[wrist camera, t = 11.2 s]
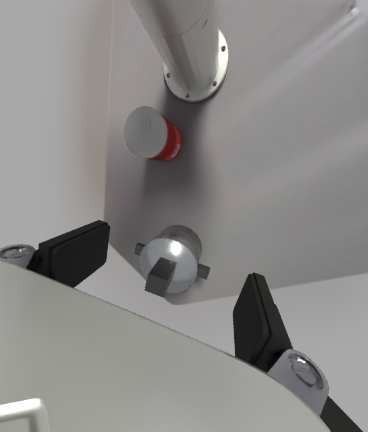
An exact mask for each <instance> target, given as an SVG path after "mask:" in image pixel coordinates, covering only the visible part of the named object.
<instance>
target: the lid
mask: <svg viewBox="0 0 368 432" xmlns="http://www.w3.org/2000/svg"><path fill="white" fill-rule="evenodd" d="M139 266H140V270H141V273H142V275H143V277H144V278H145V279H146V281H147V282H146V287H145V291H148V292H151V293H153V294H156V295H158V296H161V297H163V298H164V296H165V293H180V292H183V291H185V290H187V289H188V288H189V287H191V286H192V284H193V283H194V281H195V279H196V276H197V272H198V264H197V260H196V257H195V255H194V253H193V252H192V250H191V249H190V248H189V247H188V246H187V245H186V244H185V243H183V242H182V241H180V240H177V239H175V238H171V237H159V238H156V239H153V240H152V241H150V242H149V243H148V244H147V245H146V246H145V247H144V248H143V249H142V251H141V253H140V257H139Z"/></svg>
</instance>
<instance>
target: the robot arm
mask: <svg viewBox="0 0 368 432" xmlns="http://www.w3.org/2000/svg"><path fill="white" fill-rule="evenodd" d="M129 1H130V2H131V4H132V6H133V8H134V9H135V11H136V13H137V15H138V16H139V18H140V20H141V22H142V23H143V25H144V27H145V29H146V31H147V32H148V34H149V36H150V38H151V40H152V41H153V43H154V45H155V47H156V48H157V50H158V52H159V54H160V56H161V57H162V59H163V61H164V65H163V67H164V76H165V80H166V82H167V85H168V86H169V88H170V90H171V91H172V92H173V94H174V95H175V96H177V97H178V98H179V99H181V100H183V101H187V102H198V101H202V100H204V99H206V98H208V97H209V96H211V95H212V94H213V93H214V92H215V91H216V90H217V89H218V88H219V86H220V85H221V83H222V81H223V80H224V78H225V75H226V72H227V67H228V58H229V55H228V46H227V42H226V40H225V37H224V35H223V34H222V32H221V31H220V30H219V28H218V5H217V3H218V0H129ZM222 51H224V52H222ZM169 77H170V78H169ZM214 85H216V86H215V87H214ZM188 96H189V98H187V97H188ZM109 232H110V226H109V225H108V223H106V222H104V221H101V220H98V221H95V222H93V223H90V224H88V225H85V226H83V227H80V228H78V229H75V230H72V231H70V232H67V233H65V234H62V235H60V236H57V237H55V238H52V239H50V240H47V241H44V242H42V243H39V249H38V250H36V251H35V248H34V247H32V246H29V245H22V244H20V245H11V246H7V247H4V248H1V249H0V432H363V431H362V430H361V429H360V428H359V427H358V426H357V425H356V424H355V423H354V422H353V421H352V420H351V419H350V418H349V417H348V416H347V415H346V414H345V413H344V412H343V411H342V410H341V409H340V407H339V406H337V404H335V402H334V401H333V400H332V399H331V398H330V397H329V396H328V393H329V386H328V382H327V380H326V378H325V376H324V374H323V373H322V371H321V370H320V369H319V367H318V366H317V365H316V364H315V363H314V362H313V361H312V360H311V359H310V358H309V357H307V356H306V355H305V354H303V353H301V352H299V351H296V350H294V349H293V347H292V345H291V342H290V339H289V337H288V334H287V332H286V329H285V326H284V324H283V321H282V319H281V316H280V314H279V311H278V308H277V306H276V305H275V304H274V301H273V299H272V296H271V293H270V291H269V288H268V285H267V283H266V280H265V277H264V276H263V275H260V274H257V273H252V274H249V275H248V277H247V279H246V282H245V284H244V286H243V288H242V291H241V293H240V295H239V298H238V300H237V302H236V305H235V307H234V311H233V325H234V342H235V356H232V355H230V354H228V353H226V352H224V351H222V350H219V349H217V348H215V347H212V346H210V345H208V344H205V343H203V342H201V341H199V340H196V339H194V338H191V337H189V336H187V335H184V334H182V333H180V332H177V331H175V330H172V329H170V328H168V327H165V326H163V325H161V324H159V323H156V322H154V321H152V320H149V319H147V318H145V317H142V316H140V315H137V314H135V313H133V312H130V311H128V310H126V309H123V308H120V307H118V306H116V305H114V304H111V303H109V302H106V301H104V300H101V299H99V298H97V297H94V296H92V295H90V294H87V293H85V292H82V291H80V290H77V289H75V288H74V287H75V286H77V285H78V284H79V283H81V282H82V281H83V280H84V279H86V278H87V277H88V276H90V275H91V274H92V273H94V272H95V271H96V270H97V269H99V268H100V267H101V266H103V265H104V263H105V262H106V259H107V250H108V241H109Z"/></svg>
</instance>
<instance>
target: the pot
mask: <svg viewBox="0 0 368 432" xmlns="http://www.w3.org/2000/svg"><path fill="white" fill-rule="evenodd" d="M159 237H171V238H175V239H177V240H180V241H182V242H183V243H185V244H186V245H187V246H188V247H189V248H190V249H191V250H192V252H193V253H194V255H195V257H196V260H197V264H198V272H197V276H198V277H200V278H203V279H206V280H207V277H208V274H209V271H210V267H208V266H205V265H202V264H199V260H200V257H201V253H202V245H201V241H200V239H199V237H198V236H197V234H196V233H195V232H194V231H192V230H191V229H189V228H187V227H185V226H180V225H174V226H170V227H168V228H166V229H165V230H164V231H162V232H161V233H160V234H159V235H158V236H157V237H156V238H159ZM156 238H155V239H156ZM145 246H146V245H144V244H142V243H137V244H136V248H135V254H137V255H140V253H141V251H142V249H143V248H144V247H145Z"/></svg>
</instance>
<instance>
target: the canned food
mask: <svg viewBox="0 0 368 432" xmlns="http://www.w3.org/2000/svg"><path fill="white" fill-rule="evenodd" d="M124 133H125V140H126V143H127V145H128V147H129V149H130V150H131V151H132V152H133V153H134V154H135V155H137V156H139V157H141V158H146V159H152V160H159V161H169V160H171V159H173V158H174V157H175V156H176V155H177V154H178V152H179V150H180V147H181V136H180V133H179V131H178V129H177V128H176V127H175V126H174V125H173V124H172V123H171V122H169V121H168V120H167V119H166V118H165V117H164V116H163V115H162V114H160V113H159V112H158V111H157V110H155V109H153V108H151V107H147V106H143V107H139V108H137V109H135V110H134V111H133V112H132V113H131V114H130V115H129V116H128V118H127V121H126V124H125V130H124Z"/></svg>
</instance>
